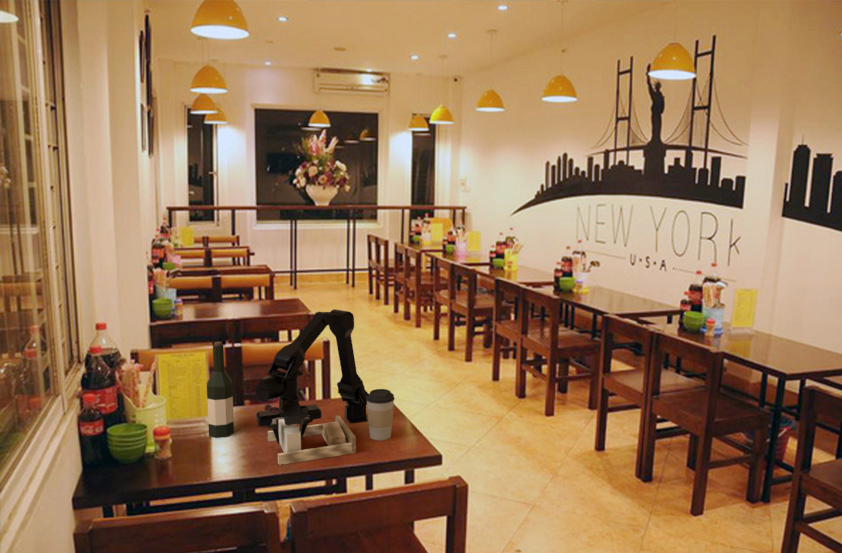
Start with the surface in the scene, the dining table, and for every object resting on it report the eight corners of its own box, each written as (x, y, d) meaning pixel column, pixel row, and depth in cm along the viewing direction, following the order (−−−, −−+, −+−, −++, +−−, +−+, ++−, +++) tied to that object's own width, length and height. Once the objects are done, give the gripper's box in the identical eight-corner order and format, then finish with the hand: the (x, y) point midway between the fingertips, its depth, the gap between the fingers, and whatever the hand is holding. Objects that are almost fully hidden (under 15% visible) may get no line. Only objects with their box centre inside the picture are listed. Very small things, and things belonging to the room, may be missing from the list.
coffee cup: (360, 438, 203) (360, 392, 201) (375, 428, 211) (375, 384, 209) (385, 443, 199) (385, 397, 197) (399, 433, 207) (399, 389, 205)
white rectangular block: (291, 440, 202) (291, 416, 200) (301, 458, 189) (300, 432, 188) (279, 442, 200) (278, 417, 199) (287, 460, 187) (286, 434, 186)
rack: (339, 430, 210) (339, 415, 209) (355, 452, 192) (355, 437, 192) (268, 440, 201) (267, 425, 201) (278, 465, 184) (278, 448, 183)
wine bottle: (238, 428, 211) (235, 339, 206) (228, 438, 202) (225, 346, 198) (214, 427, 211) (210, 339, 207) (203, 437, 203) (199, 345, 199)
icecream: (294, 412, 208) (277, 402, 221) (272, 410, 204) (257, 401, 217) (290, 433, 208) (274, 423, 220) (268, 432, 204) (253, 421, 216)
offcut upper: (338, 429, 206) (338, 421, 205) (345, 444, 194) (345, 436, 194) (323, 431, 204) (322, 423, 204) (328, 445, 193) (328, 438, 192)
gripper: (260, 405, 181) (262, 457, 183) (325, 397, 188) (326, 447, 190) (255, 393, 191) (256, 442, 193) (316, 386, 198) (317, 434, 200)
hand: (289, 442), depth 194 cm, fingers open, 6 cm apart
